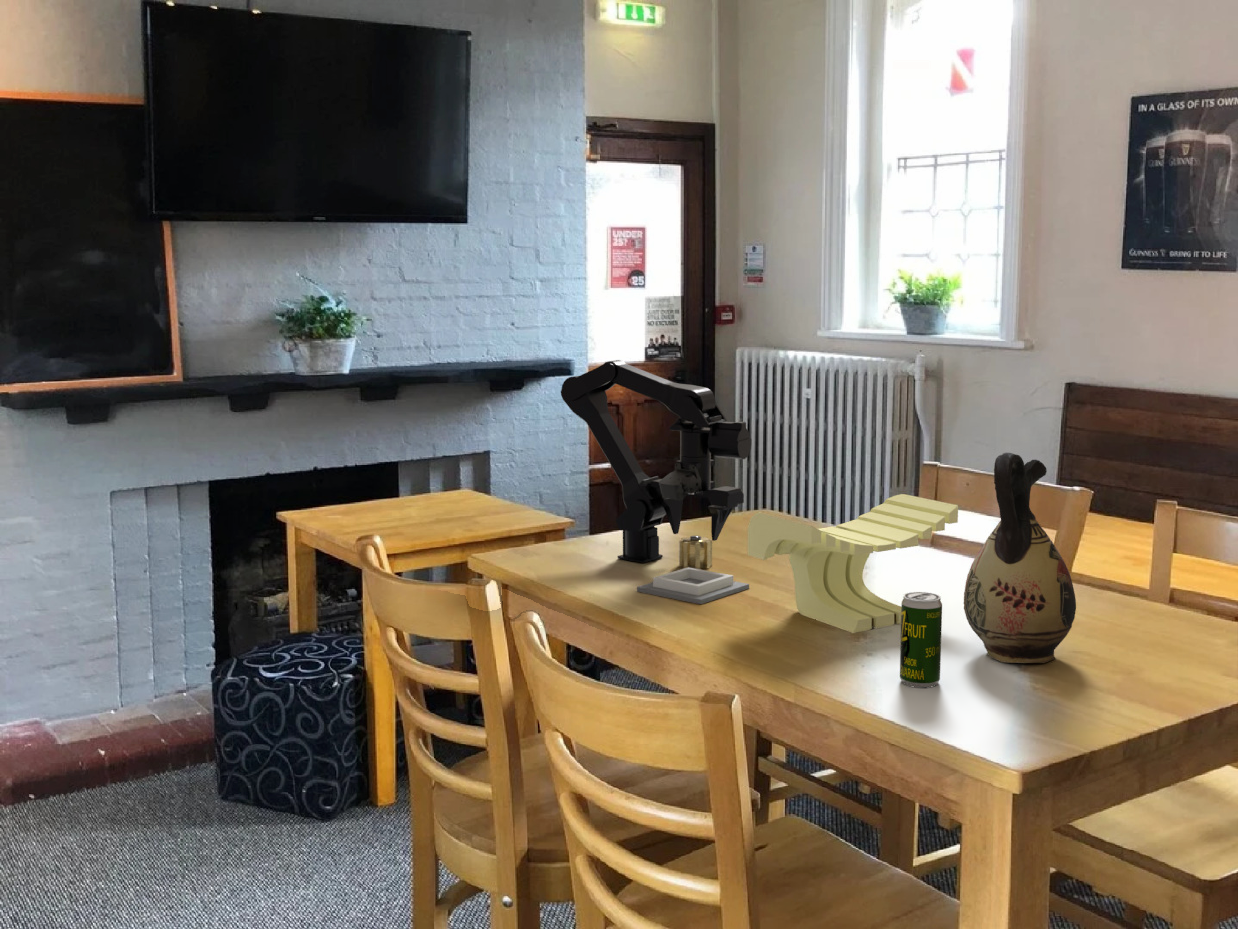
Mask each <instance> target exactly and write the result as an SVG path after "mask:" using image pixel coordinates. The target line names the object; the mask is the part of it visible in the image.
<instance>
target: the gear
mask: <svg viewBox="0 0 1238 929" xmlns="http://www.w3.org/2000/svg"><path fill="white" fill-rule="evenodd" d="M678 565H679V568H680V567H682V568H683V569H684V568H688V567H689V568H695V569H700V570H704V569H710V568H711V567H712V566H713V540H712V538H708V537H707V536H701V535H691V536H689V537H681V538H680V539H679V540H678Z"/></svg>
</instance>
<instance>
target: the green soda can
mask: <svg viewBox="0 0 1238 929" xmlns="http://www.w3.org/2000/svg"><path fill="white" fill-rule="evenodd" d="M902 598H903V599H902V601H901V624H900V647H899V649H900V653H899V654H900V656H899V657H900V658H899V678H900V681H901V683H902V682H903V683H905V684H906V685H905V684H904V685H905V686H907V685H909V686H908V687H911V686H914V687H913V688H916V687H930V686H934V685H936V686H937V685H939V682H940V680H941V657H942V656H941V655H942V623H943V620H942V618H943V603H942V601H941V598H942V597H941V595H939V594H936V593H933V592H927V591H914V592H911V591H910V592H907V593H904V594H903V597H902ZM934 687H935V686H934ZM930 688H931V687H930Z"/></svg>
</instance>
